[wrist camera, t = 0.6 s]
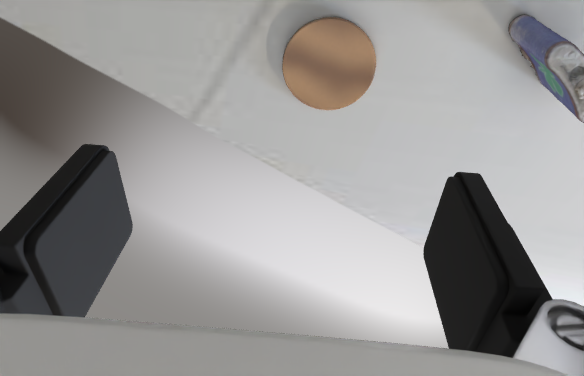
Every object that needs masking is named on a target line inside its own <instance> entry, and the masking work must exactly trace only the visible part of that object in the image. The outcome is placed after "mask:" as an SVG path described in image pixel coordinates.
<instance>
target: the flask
mask: <svg viewBox="0 0 584 376" xmlns="http://www.w3.org/2000/svg"><path fill="white" fill-rule="evenodd" d="M509 33H510V35H511V38H512V40H513V41H515V42H516V43H517V44H518V46H519V47H520V49H521V50H520V51H521V53H522V56H524V58H525V59H526V60H527V59H528V60H529V61H531V64H532V65H531V66H530V67H532V68H534V69H535V71H536V74H535V75H536V76H537V78H538V80H539V81H540V83H541V84H543V85H544V86H545V87H546V88H547V89H548V90H549V91H550V92H551V93H552V94H553V95H554V96H555V97H556V98H557V99H558V100H559V101H560V102H562V103H563V104H564V105H565V106H566V107H567V108H568V109H569V110H570V111H571V112H572V113H573V114H574V115H575V116H576V117H577V118H578V119H579V120H580V121H581V122H583V123H584V54H583V53H582V52H581V51H580V50H579V49H578V48H577V47H576V46H575V45H574V44H572V43H571V42H569V41H568V40H567V39H565V38H563V37H561V36H560V35H558V34H557V33H555V32H553V31H552V30H551V29H549V28H547V27H546V26H544V25H543V24H542V23H540V22H539V21H537V20H536V19H535V18H533V17H531V16H528V15H521V17H520V16H519V17H517V18H516V19H514V20H513V21H512V22H511V23H510V25H509Z"/></svg>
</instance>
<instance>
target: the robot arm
mask: <svg viewBox="0 0 584 376" xmlns="http://www.w3.org/2000/svg"><path fill="white" fill-rule="evenodd" d="M131 233H132V220H131V216H130V212H129V207H128V203H127V199H126V195H125V191H124V187H123V183H122V180H121V175H120V171H119V167H118V163H117V159H116V156H115V153H114V152H113V151H109V149H108V147H106V146H104V145H91V144H84V145H82V146H81V147H80V148H79V149H78V150H77V151H76V152H75V153H74V154H73V155H72V156H71V157H70V159H69V160H68V161H67V162H66V163H65V164H64V165H63V166H62V167H61V168H60V169H59V170H58V171H57V172H56V173H55V174H54V175H53V176H52V177H51V178H50V180H49V181H48V182H47V183H46V184H45V185H44V186H43V187H42V188H41V189H40V190H39V191H38V192H37V193H36V194H35V195H34V196H33V198H31V200H30V201H29V202H28V203H27V204H26V205H25V206H24V207H23V208H22V209H21V210H20V211H19V212H18V213H17V214H16V215H15V216H14V218H12V220H11V221H10V222H9V223H8V224H7V225H6V226H5V227H4V228H3V229H2V230H1V231H0V376H584V306H581V305H579V304H577V303H575V302H571V301H567V300H555V299H552V297H551V296H550V294H549V292H548V290H547V289H546V287H545V285H544V283H543V281H542V280H541V278H540V276H539V274H538V273H537V271H536V269H535V267H534V266H533V264H532V262H531V260H530V258H529V257H528V255H527V253H526V251H525V250H524V248H523V246H522V244H521V243H520V241H519V239H518V237H517V235H516V234H515V232H514V230H513V228H512V227H511V226H510V225H509V224H508V223H507V221H506V219H505V217H504V216H503V214H502V212H501V210H500V208H499V207H498V205H497V203H496V201H495V199H494V198H493V196H492V194H491V192H490V191H489V189H488V187H487V185H486V183H485V182H484V180H483V178H482V176H481V175H480V174H478V173H465V172H457V173H456V174H455V175H454V177H449V178H448V179H447V181H446V184H445V187H444V190H443V193H442V196H441V199H440V202H439V205H438V207H437V210H436V213H435V216H434V219H433V222H432V225H431V228H430V231H429V234H428V237H427V240H426V243H425V246H424V260H425V264H426V267H427V271H428V274H429V278H430V282H431V285H432V289H433V293H434V296H435V299H436V303H437V307H438V310H439V314H440V318H441V321H442V325H443V328H444V332H445V335H446V339H447V343H448V347H449V349H447V348H437V347H428V346H418V345H408V344H398V343H387V342H376V341H364V340H353V339H341V338H329V337H319V336H308V335H295V334H285V333H273V332H261V331H249V330H236V329H225V328H213V327H212V328H211V327H200V326H188V325H176V324H163V323H149V322H137V321H124V320H112V319H99V318H85V316H86V314H87V312H88V310H89V308H90V307H91V305H92V303H93V301H94V300H95V298H96V296H97V294H98V292H99V291H100V289H101V287H102V285H103V284H104V282H105V280H106V278H107V276H108V275H109V273H110V271H111V269H112V267H113V266H114V264H115V262H116V260H117V258H118V257H119V255H120V253H121V251H122V250H123V248H124V246H125V244H126V242H127V241H128V239H129V237H130V235H131Z"/></svg>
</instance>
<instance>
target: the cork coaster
mask: <svg viewBox="0 0 584 376" xmlns="http://www.w3.org/2000/svg"><path fill="white" fill-rule="evenodd" d="M375 70H376V56H375V51H374V48H373V45H372V43H371V41H370V39H369V37H368V36H367V35H366V33H365V32H364V31H363V30H362V29H361V28H360V27H358V26H357V25H355V24H354V23H352V22H350V21H348V20H345V19H341V18H334V17H327V18H321V19H316V20H314V21H311V22H309V23H307V24H306V25H304V26H303V27H301V28H300V29H299V30H298V31H297V32H296V33H295V34H294V35H293V36H292V38H291V39H290V41H289V43H288V45H287V47H286V49H285V53H284V57H283V75H284V79H285V81H286V84H287V86H288V88H289V89H290V91H291V92H292V94H293V95H294V96H295V97H296V98H297V99H298V100H300V101H301V102H302V103H304V104H306V105H308V106H310V107H313V108H316V109H321V110H335V109H340V108H343V107H346V106H348V105H350V104H352V103H354V102H355V101H357V100H358V99H359V98H360V97H361V96H362V95H363V94H364V93H365V92H366V91H367V89H368V88H369V86H370V85H371V83H372V80H373V78H374V74H375Z"/></svg>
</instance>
